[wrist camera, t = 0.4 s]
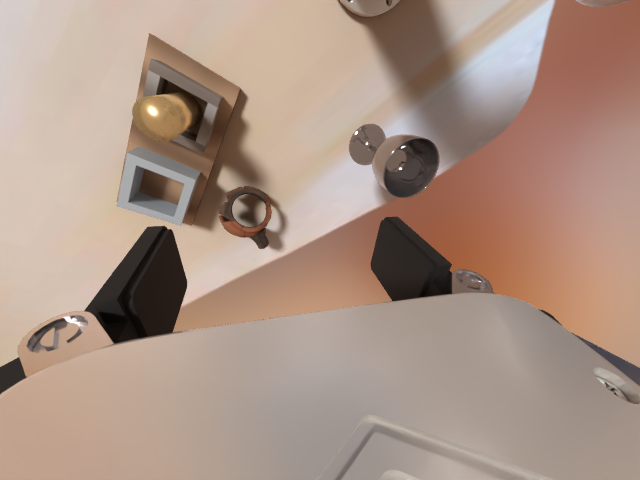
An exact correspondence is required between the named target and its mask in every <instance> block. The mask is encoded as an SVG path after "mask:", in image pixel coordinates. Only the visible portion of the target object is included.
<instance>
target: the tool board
mask: <svg viewBox="0 0 640 480" xmlns="http://www.w3.org/2000/svg"><path fill="white" fill-rule="evenodd" d="M240 89H241V88H239V87H238V86H236V85H234V84H233V83H231V82H229V81H228V80H226V79H224V78H223V77H221V76H220V75H218V74H216V73H215V72H213V71H211V70H210V69H208V68H206V67H205V66H203V65H201V64H200V63H198V62H197V61H195V60H193V59H192V58H190V57H188V56H187V55H185V54H183V53H182V52H180V51H178V50H177V49H175V48H174V47H172V46H170V45H169V44H167V43H165V42H164V41H162V40H160V39H159V38H157V37H155V36H154V35H152V34H150V33H149V38H148V43H147V48H146V53H145V58H144V63H143V69H142V74H141V79H140V84H139V89H138V94H137V99H136V101H138V100H139V99H140V98H143V97H148V96H155V95H162V94H170V93H177V92H185V93H188V94H190V95H191V96H193V97H194V98H195V99H196V100H197V101H198V103H199V105H200V107H201V118H200V120H199V121H198V122H197V123H195V124H194V125H192V126H191V127H190V128H188V129H187V130H185V131H184V132H183V133H181V134H180V135H178V136H177V137H175V138H174V139H172V140H170V141H167V142H160V141H156V140H153V139H151V138H149V137H147V136H146V135H145V134H143V133H142V132H141V131H140V130H139V128H138V127H137V125H136V124H135V121H134V119H133V120H132V125H131V130H130V136H129V141H128V146H127V151H126V155H127V152H129V151H131V150H133V149H135V148H136V147H138V146H140V147H143V148H145V149H148V150H150V151H152V152H155V153H157V154H160V155H162V156H164V157H167V158H169V159H172V160H174V161H176V162H179V163H181V164H184V165H186V166H188V167H191V168H193V169H195V170H198V171H200V172H201V173H200V176H199V178H198V181H197V184H196V187H195V190H194V193H193V196H192V199H191V202H190V205H189V208H188V211H187V214H186V216H185V218H184V220H183V223H186V224H189V225H192V223H193V220H194V218H195V215H196V212H197V209H198V206H199V204H200V201H201V198H202V195H203V192H204V190H205V187H206V184H207V181H208V178H209V176H210V173H211V170H212V167H213V164H214V162H215V159H216V156H217V153H218V150H219V148H220V145H221V142H222V139H223V136H224V134H225V131H226V128H227V125H228V122H229V120H230V117H231V114H232V111H233V108H234V106H235V103H236V100H237V97H238V94H239V92H240ZM125 161H126V156H125ZM125 161H124V166H125ZM123 171H124V167H123ZM122 176H123V172H122ZM121 181H122V177H121ZM120 186H121V182H120ZM183 187H184V183H181V182H179V181H176V180H173V179H171V178H168V177H166V176H163V175H160V174H158V173H155V172H153V171H150V170H147V169H145V168H144V173H143V177H142V181H141V185H140V190H139V192H141V193H144V194H147V195H150V196H152V197H155V198H158V199H161V200H164V201H167V202H170V203H173V204H176V205H178V203H179V200H180V197H181V194H182V190H183ZM119 191H120V187H119ZM118 196H119V192H118ZM117 202H118V198H117Z"/></svg>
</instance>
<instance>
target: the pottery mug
mask: <svg viewBox="0 0 640 480" xmlns="http://www.w3.org/2000/svg"><path fill="white" fill-rule="evenodd" d="M244 194H252V195H255V196H257V197H259V198H260V199H261V200H262V201H264V203H265V205H266V217H265V219H264V221H263V222H262V223H261V224H260V225H258V226H256V227H245V226H242V225H241V224H239V223H238V222H237V221H236V220H235V219H234V217H233V214H232V205H233V203H234V201H235V199H236V198H238V197H239V196H241V195H244ZM225 195H226V197H227V199H228V202H224V203H223V204H222V206H221V207H219V213H220V214H222V215H223V216H224V217H226V218H227V219H229V220H230V221H227V222H226V221H225V220H224V218H223V216H222V215H221V216H219V219H220V221H221V223H222V225H223V226H224V228H225V229H226V230H227V231H228V232H229V233H231V234H233V235H236V236H239V237H250V238H251V239H252V240H253V241H254V242H255V243H256V244H257V246H258V248H259V249H264V248H265V247H267V246H268V244H269V242H268V239H267V237H266V235H265V230H266V229H265V228H264V227H266V226H267V224H268V222H269V220H270V218H271V213H272V212H271V206H270V204H271V203H270V200H269V198H268V197H267V196H266V195H265V193H264V192H262V191H261V190H259V189H256V188H254V187H249V186H244V188H243V187H238V188H236V189H234V190H232V191H229V192H226V193H225Z"/></svg>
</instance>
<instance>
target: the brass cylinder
mask: <svg viewBox="0 0 640 480" xmlns="http://www.w3.org/2000/svg"><path fill="white" fill-rule="evenodd" d="M132 112H133V119H134V121H135V124H136V125H137V127H138V128H139V130H140V131H141V132H142V133H143V134H145V135H146V136H147V137H149V138H151V139H153V140H156V141H160V142H167V141H170V140H172V139H174V138H175V137H177V136H178V135H180V134H181V133H183V132H184V131H185V130H187V129H188V128H190V127H191V126H192V125H194V124H195V123H197V122H198V121H199V120H200V118H201V107H200V105H199V103H198V101H197V100H196V99H195V98H194V97H193V96H191V95H190V94H188V93H185V92H177V93H170V94H162V95H155V96H148V97H143V98H140V99H139V100H138V101H136V103H135V104H134V106H133V111H132Z"/></svg>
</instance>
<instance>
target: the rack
mask: <svg viewBox="0 0 640 480" xmlns="http://www.w3.org/2000/svg"><path fill="white" fill-rule="evenodd" d="M144 168H145V169H147V170H150V171H153V172H155V173H158V174H160V175H163V176H166V177H168V178H171V179H173V180H176V181H179V182H181V183H184V187H183V190H182V194H181V197H180V200H179V203H178V205H176V204H173V203H170V202H167V201H164V200H161V199H158V198H155V197H152V196H150V195H147V194H144V193H141V192H139V190H140V185H141V181H142V177H143V173H144ZM200 173H201V172H200V171H198V170H195V169H193V168H191V167H188V166H186V165H184V164H181V163H179V162H176V161H174V160H172V159H169V158H167V157H164V156H162V155H160V154H157V153H155V152H152V151H150V150H148V149H145V148H143V147H140V146H138V147H136V148H135V149H133V150H131V151H129V152H127V155H126V161H125V166H124V171H123V176H122V181H121V186H120V191H119V196H118V202H117V206H118V207H121V208H125V209H128V210H131V211H134V212H137V213H141V214H144V215H147V216H150V217H154V218H157V219H160V220H163V221H167V222H170V223H173V224H176V225H179V226H181V224H182V222H183V220H184V218H185V216H186V214H187V211H188V208H189V205H190V202H191V199H192V196H193V193H194V190H195V187H196V184H197V181H198V178H199V176H200Z"/></svg>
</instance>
